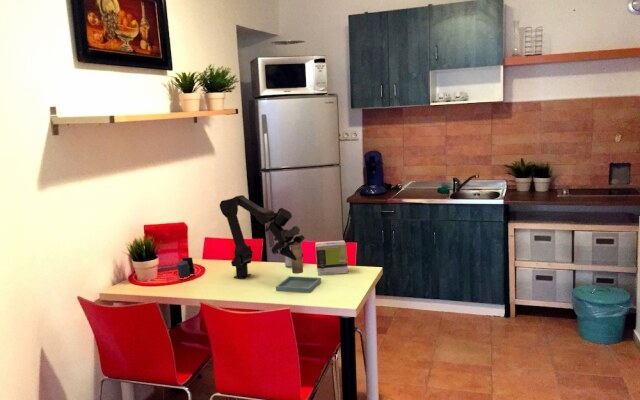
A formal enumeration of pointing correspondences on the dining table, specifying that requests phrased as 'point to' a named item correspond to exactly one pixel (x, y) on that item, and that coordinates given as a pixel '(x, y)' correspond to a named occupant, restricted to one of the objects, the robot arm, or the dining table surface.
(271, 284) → the dining table surface
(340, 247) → the tea box
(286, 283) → the tray
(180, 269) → the speaker
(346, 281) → the dining table surface
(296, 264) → the pepper mill
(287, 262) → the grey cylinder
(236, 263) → the robot arm
